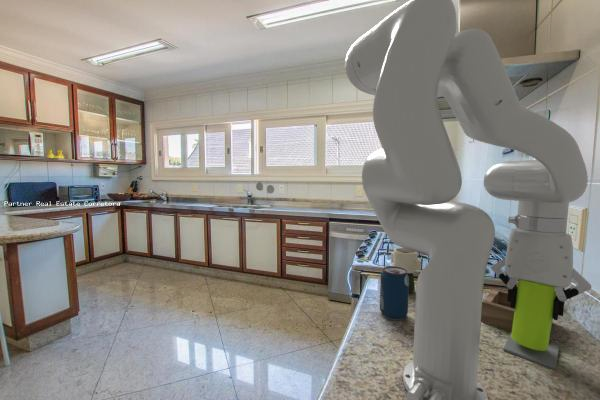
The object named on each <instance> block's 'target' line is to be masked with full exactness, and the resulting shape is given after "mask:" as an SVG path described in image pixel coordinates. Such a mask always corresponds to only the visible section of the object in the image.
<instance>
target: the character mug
mask: <svg viewBox="0 0 600 400" xmlns="http://www.w3.org/2000/svg"><path fill="white" fill-rule="evenodd" d="M418 256H419V253H418V252H415V251H411V250H408V249H405V248H402V247H395V248H394V249H393V252H391V253H390V261H391V262H392V263H393V264H392V266H394V267H400V268H403V269H405V270H406V271H407V275H408V277H409V293H412V292H416V284H415V277H414V273H416V272H418V271H419V272H421V271H422V270H421V269H422V261H421V260H420V259H419V257H418Z"/></svg>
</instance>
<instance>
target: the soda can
mask: <svg viewBox="0 0 600 400" xmlns="http://www.w3.org/2000/svg"><path fill="white" fill-rule="evenodd" d="M379 284H380V285H379V286H380V290H379V291H380V292H379V311H380V312H381V314H382V316H383V317H384V318H386V319H388V320H391V321H403V320H404V319H405V318H406V316H407V315H408V313H409V295H410V294H409V293H410V292H409V277H408V275H407V271H406V270H405V269H403V268H400V267H394V266H393V265H389V266H385V267H383V270H382V272H381V273H380V283H379Z"/></svg>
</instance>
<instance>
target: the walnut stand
mask: <svg viewBox="0 0 600 400" xmlns="http://www.w3.org/2000/svg"><path fill="white" fill-rule="evenodd" d="M507 297H508V290H502V289H498V288H492V289H491V291H490V292H489V293H488V294H487V295H486V297H485V298H484V299H482V313H481V323H485V324H488V325H491V326H493V327H496V328H500V329H503V330H507V331H509V332H512V326H513V318H514V311H515V308H510V305H511V302H507ZM553 320H554V319H553V317H552V324H551V328H552V327H553V323H554V322H553ZM551 331H552V329H551V330H550V333H551Z"/></svg>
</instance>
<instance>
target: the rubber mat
mask: <svg viewBox="0 0 600 400" xmlns="http://www.w3.org/2000/svg"><path fill="white" fill-rule="evenodd" d="M511 333H512V331H510V333H509V336H508V337H507V340H506V342H505V344H504V345H503V349H502V350H503V351H504V352H507V353H509V354H511V355H515V356H518V357H521V358H523V359H525V360H529V361H531V362H533V363H536V364H538V365H541V366H545V367H547V368H549V369H553V370H556V369H557V362H558V358H559V349H560V347H559V346H558V345H554V344H551V343H549V344H548V349H547V350H545V351H539V350H534V349H530V348H527V347H525V346H523V345H521V344H519V343H517V342H516V341H514V340H513V339H512V337H511Z"/></svg>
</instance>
